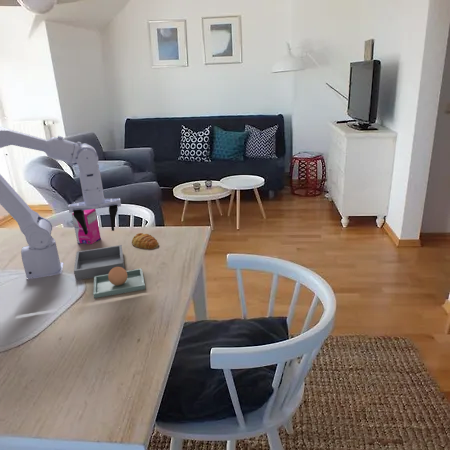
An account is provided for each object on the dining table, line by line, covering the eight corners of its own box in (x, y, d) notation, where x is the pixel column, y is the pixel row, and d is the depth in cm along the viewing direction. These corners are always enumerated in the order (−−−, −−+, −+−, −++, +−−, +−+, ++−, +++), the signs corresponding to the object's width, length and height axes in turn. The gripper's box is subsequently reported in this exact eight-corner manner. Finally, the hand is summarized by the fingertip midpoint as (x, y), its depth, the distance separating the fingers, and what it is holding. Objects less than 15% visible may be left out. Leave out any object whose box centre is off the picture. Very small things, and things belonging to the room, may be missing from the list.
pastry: (164, 246, 135) (162, 235, 134) (148, 254, 130) (146, 243, 129) (145, 240, 141) (144, 229, 139) (129, 247, 136) (128, 236, 135)
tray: (94, 300, 105) (93, 294, 105) (95, 281, 114) (94, 276, 114) (145, 290, 108) (144, 285, 108) (142, 273, 117) (141, 268, 117)
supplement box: (77, 244, 140) (70, 213, 135) (87, 237, 145) (81, 207, 141) (91, 246, 138) (85, 214, 134) (101, 239, 143) (96, 208, 139)
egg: (110, 290, 108) (107, 273, 106) (109, 281, 113) (106, 265, 111) (129, 286, 110) (126, 270, 108) (127, 278, 114) (125, 262, 112)
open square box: (76, 282, 115) (73, 271, 114) (78, 261, 127) (76, 251, 126) (125, 274, 118) (123, 263, 117) (123, 255, 130) (121, 244, 129)
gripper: (64, 194, 113) (73, 240, 118) (118, 188, 116) (125, 232, 121) (66, 187, 119) (75, 231, 124) (117, 182, 122) (124, 224, 127)
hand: (99, 231), depth 123 cm, fingers open, 7 cm apart
